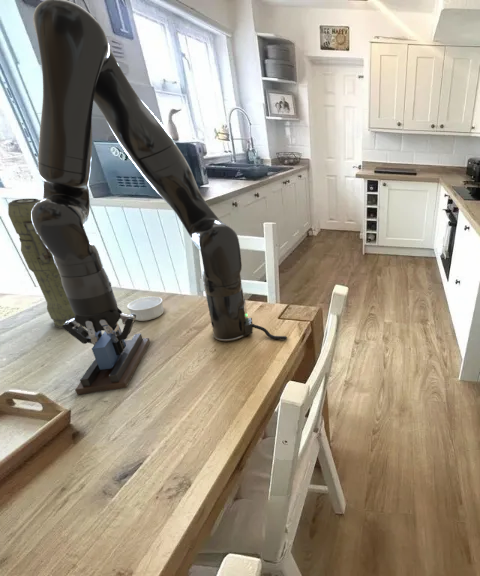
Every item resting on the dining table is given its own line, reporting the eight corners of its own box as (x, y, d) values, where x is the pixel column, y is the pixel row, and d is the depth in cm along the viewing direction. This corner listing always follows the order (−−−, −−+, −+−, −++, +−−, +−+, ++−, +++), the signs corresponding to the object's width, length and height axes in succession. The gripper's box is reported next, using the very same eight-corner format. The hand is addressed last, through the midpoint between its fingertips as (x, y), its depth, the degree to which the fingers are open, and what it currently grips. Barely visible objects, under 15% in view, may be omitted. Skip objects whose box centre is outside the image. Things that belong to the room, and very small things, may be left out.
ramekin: (123, 319, 98) (119, 306, 96) (148, 305, 105) (145, 294, 104) (148, 324, 96) (144, 311, 94) (172, 310, 104) (169, 298, 102)
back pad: (126, 345, 83) (119, 325, 80) (112, 368, 75) (104, 347, 72) (115, 347, 82) (107, 327, 79) (99, 370, 74) (91, 348, 72)
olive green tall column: (91, 307, 102) (48, 194, 87) (97, 323, 95) (51, 203, 80) (52, 316, 97) (-1, 197, 81) (56, 334, 89) (-2, 206, 74)
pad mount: (150, 342, 89) (146, 331, 87) (126, 387, 73) (121, 375, 72) (110, 346, 86) (106, 335, 84) (77, 394, 71) (71, 382, 69)
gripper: (38, 300, 65) (68, 368, 73) (120, 294, 69) (141, 359, 77) (58, 285, 71) (84, 348, 79) (133, 280, 76) (151, 341, 83)
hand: (112, 353), depth 78 cm, fingers closed on back pad, 2 cm apart
